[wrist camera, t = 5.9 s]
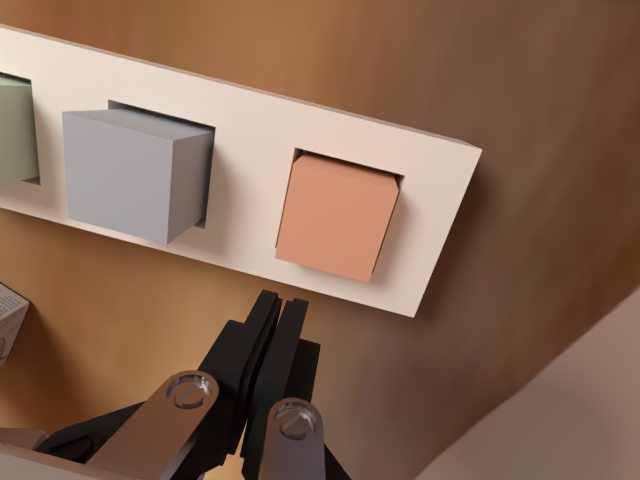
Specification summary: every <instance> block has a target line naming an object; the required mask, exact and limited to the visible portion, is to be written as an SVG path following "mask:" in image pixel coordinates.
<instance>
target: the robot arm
mask: <svg viewBox="0 0 640 480" xmlns="http://www.w3.org/2000/svg"><path fill="white" fill-rule="evenodd" d="M282 301H283V299H281V298H278V293H275V292H271V291H267V290H264V289H263V290H262V292H261V294H260V295H259V297H258V299H257V301H256V303H255V304H254V306H253V308H252V310H251V312H250V314H249V315H248V317H247V319H246V321H245V323H241V322H237V321H234V320H229V321H228V322H227V323H226V325H225V327H224V328H223V330H222V331H221V333H220V335H219V336H218V338H217V339H216V341H215V342H214V344H213V346H212V347H211V349H210V350H209V352H208V354H207V355H206V357H205V358H204V360H203V362H202V363H201V365H200V366H199V368H198V370H197V371H196V370H188V371H183V372H179V373H177V374H175V375H173V376H171V377H170V378H169V379H167V380H166V381H165V382H164V383H163V384H162V385H161V386H160V387H159V388H158V389H157V390H156V391H155V392H154V394H153V395H152V396H151V397H150V398H149V399H148V400H147V401H144V402H141V403H138V404H135V405H132V406H129V407H126V408H123V409H120V410H117V411H114V412H111V413H108V414H105V415H102V416H99V417H96V418H93V419H90V420H87V421H84V422H81V423H78V424H75V425H72V426H69V427H67V428H64V429H62V430H60V431H58V432H55V433H54V434H52V435H45V430H42V429H21V428H0V480H203V478H204V475H205V472H207V471H209V470H211V469H213V468H215V467H217V466H219V465H221V466H223V464H224V462H225V459H226V456H227V454H231V455H234V454H235V452H236V449H237V447H238V444H239V441H240V438H241V436H242V433H243V430H244V428H245V425H246V422H247V425H246V430H245V434H244V439H243V443H242V448H241V452H240V457H242V458H244V462H243V467H242V471H241V473H242V474H243V476H244V478H245V480H351V479H350V477H349V476H348V475H347V473H346V472H345V471H344V469H343V468H342V467H341V465H340V464H339V463H338V461H337V460H336V458H335V457H334V456H333V454H332V453H331V452H330V450H329V449H328V448H327V446H326V445H325V444H324V434H323V422H322V417H321V415H320V413H319V412H318V410H317V409H316V408H315V407H314V406H313V405H312V404H311V398H312V392H313V386H314V381H315V375H316V369H317V364H318V358H319V352H320V346H321V344H318V343H314V342H311V341H307V340H303V339H300V334H301V330H302V326H303V322H304V319H305V315H306V311H307V307H308V304H309V302H308V301H304V300H301V299H297V298H294V300H293V302H292V301H288V300H287V302H286V305H285V307H284V310H283V312H282V315H281V317H280V320H279V323H278V318H279V314H280V310H281V305H282ZM277 323H278V325H277ZM276 327H277V328H276ZM247 419H248V421H247Z"/></svg>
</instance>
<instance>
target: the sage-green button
mask: <svg viewBox="0 0 640 480" xmlns="http://www.w3.org/2000/svg"><path fill="white" fill-rule="evenodd" d="M38 176H40V172H39V161H38V150H37V139H36V128H35V117H34V106H33V95H32V84H31V83H29V82H25V81H22V80H18V79H14V78H10V77H6V76H2V75H0V186H1V185H5V184H9V183H13V182H17V181H22V180H26V179H30V178H34V177H38Z"/></svg>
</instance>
